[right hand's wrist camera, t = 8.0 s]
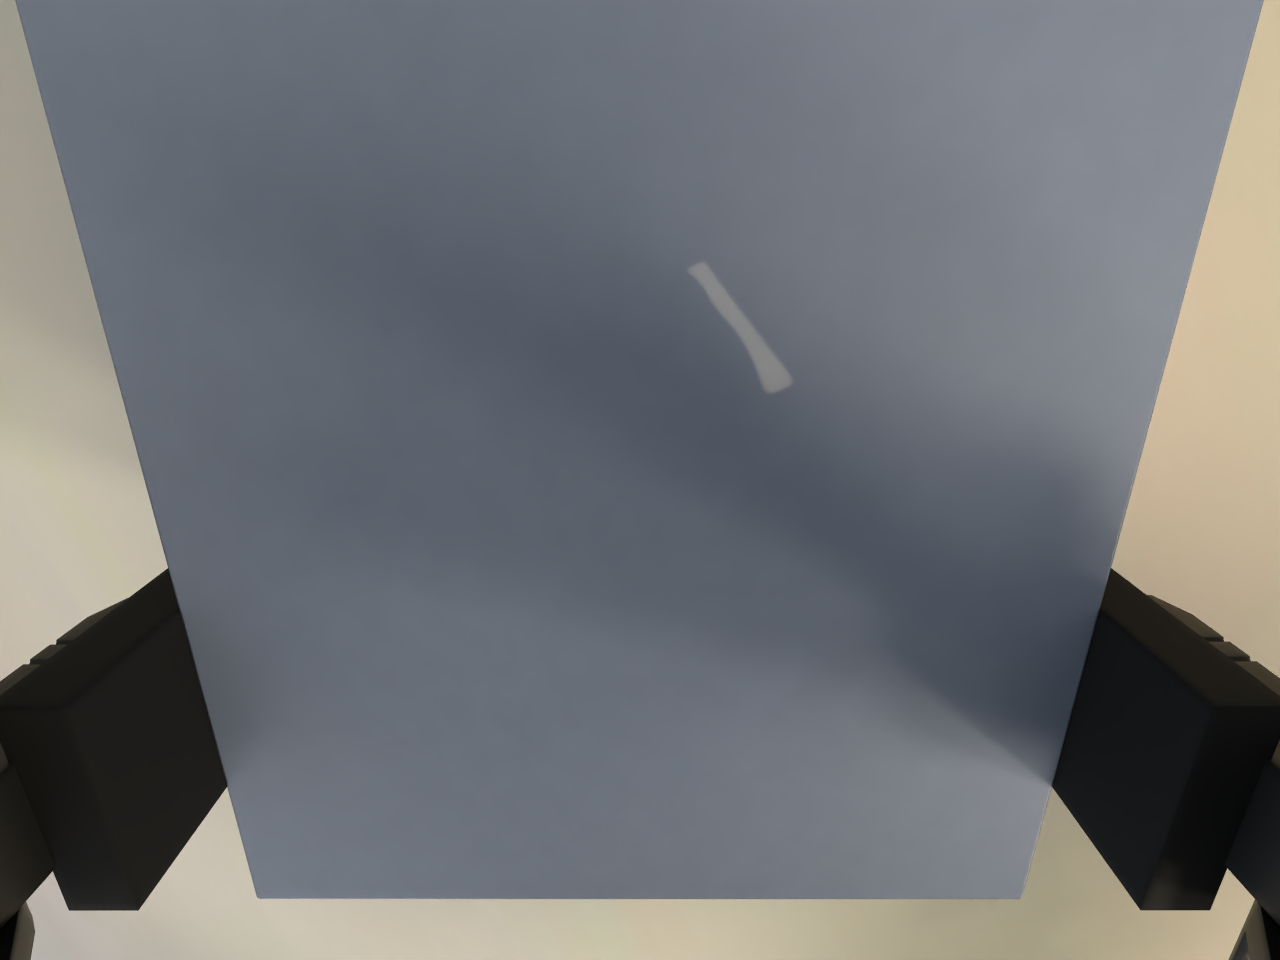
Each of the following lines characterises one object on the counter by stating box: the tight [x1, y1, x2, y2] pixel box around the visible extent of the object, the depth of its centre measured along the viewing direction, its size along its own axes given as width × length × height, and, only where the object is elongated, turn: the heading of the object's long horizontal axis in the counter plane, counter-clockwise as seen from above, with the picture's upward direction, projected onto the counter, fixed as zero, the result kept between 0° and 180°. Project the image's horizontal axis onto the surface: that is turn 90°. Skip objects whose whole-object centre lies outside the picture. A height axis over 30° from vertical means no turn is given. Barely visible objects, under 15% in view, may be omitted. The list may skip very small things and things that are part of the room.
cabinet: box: [15, 0, 1264, 899], centre depth 10 cm, size 22×11×9 cm, turn 0°
